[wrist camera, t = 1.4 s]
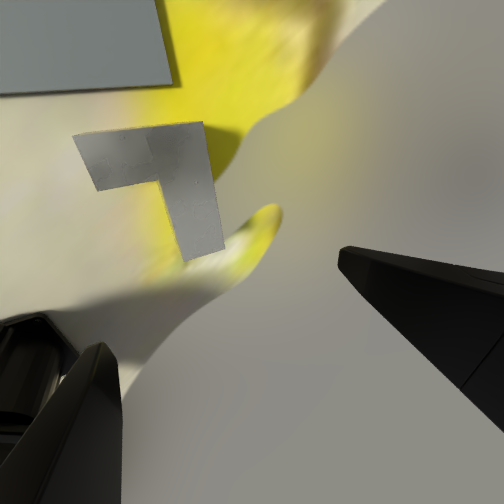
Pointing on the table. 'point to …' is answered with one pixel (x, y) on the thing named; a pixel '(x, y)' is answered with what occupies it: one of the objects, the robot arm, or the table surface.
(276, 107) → the table surface
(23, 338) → the robot arm
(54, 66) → the arena board
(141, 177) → the bracket
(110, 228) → the table surface
